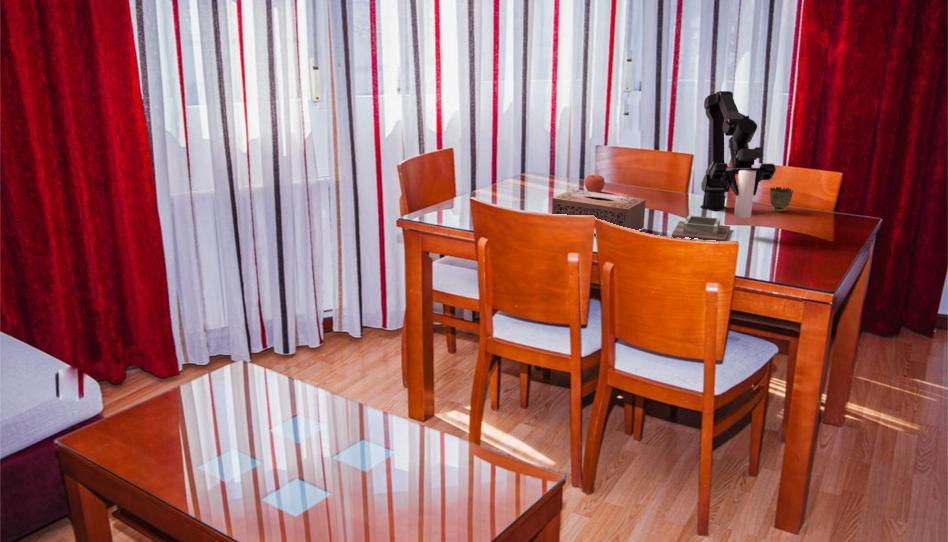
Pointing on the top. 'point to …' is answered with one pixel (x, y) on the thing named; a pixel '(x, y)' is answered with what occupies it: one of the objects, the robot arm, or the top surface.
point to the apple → (594, 183)
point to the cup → (780, 198)
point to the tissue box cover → (602, 207)
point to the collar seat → (701, 229)
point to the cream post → (745, 193)
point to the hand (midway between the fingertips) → (746, 195)
